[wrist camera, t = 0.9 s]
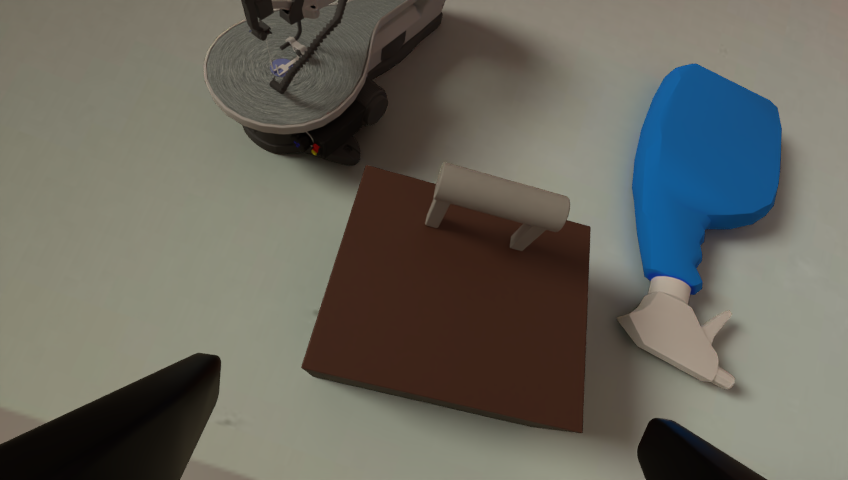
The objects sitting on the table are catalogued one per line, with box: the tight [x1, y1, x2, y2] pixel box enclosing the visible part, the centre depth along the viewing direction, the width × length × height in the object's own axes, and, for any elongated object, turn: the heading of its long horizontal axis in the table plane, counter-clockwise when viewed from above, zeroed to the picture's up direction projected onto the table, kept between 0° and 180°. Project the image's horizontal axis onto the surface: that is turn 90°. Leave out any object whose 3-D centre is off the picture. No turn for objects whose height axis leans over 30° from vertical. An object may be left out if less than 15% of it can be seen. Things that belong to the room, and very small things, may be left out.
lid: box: [301, 162, 590, 433], centre depth 17 cm, size 10×13×5 cm
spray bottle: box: [617, 64, 782, 389], centre depth 29 cm, size 3×11×24 cm
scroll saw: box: [203, 0, 445, 166], centre depth 25 cm, size 20×11×12 cm
